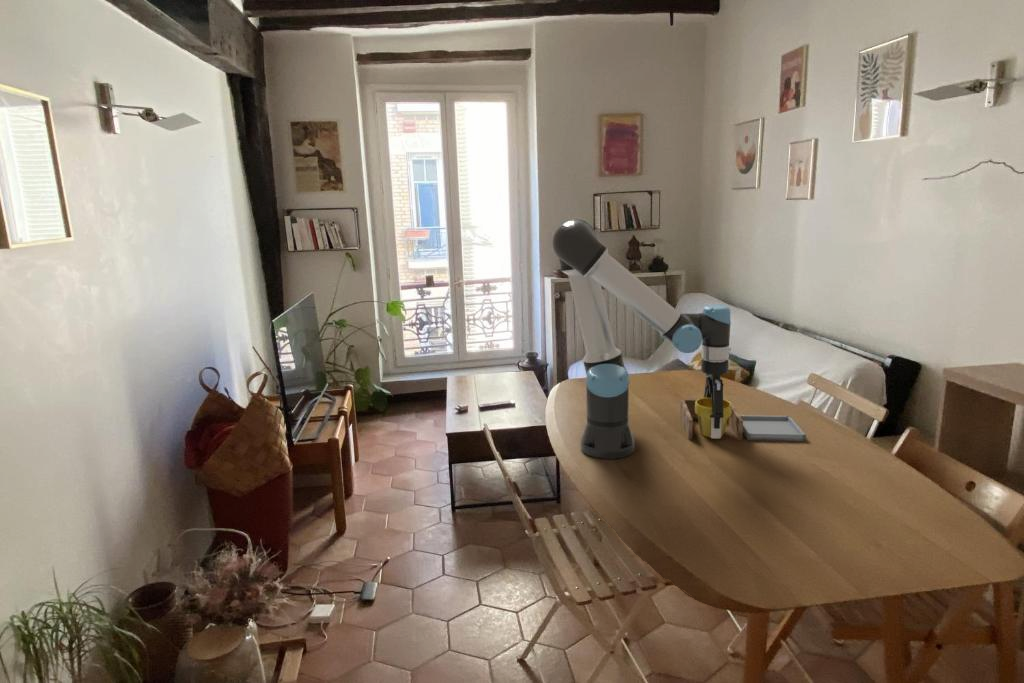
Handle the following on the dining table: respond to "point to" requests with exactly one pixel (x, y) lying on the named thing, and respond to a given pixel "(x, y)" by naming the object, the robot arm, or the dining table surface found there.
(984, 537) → the dining table surface
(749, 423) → the tray
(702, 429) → the plant pot
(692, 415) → the box
